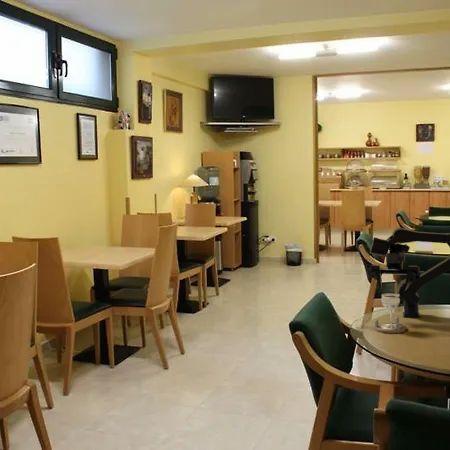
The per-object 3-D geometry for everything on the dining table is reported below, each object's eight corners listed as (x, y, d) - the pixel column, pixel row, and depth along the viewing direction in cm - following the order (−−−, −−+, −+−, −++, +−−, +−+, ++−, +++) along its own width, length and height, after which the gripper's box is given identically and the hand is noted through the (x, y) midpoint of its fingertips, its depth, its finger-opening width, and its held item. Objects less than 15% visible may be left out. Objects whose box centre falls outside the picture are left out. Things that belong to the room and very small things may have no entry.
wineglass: (388, 330, 207) (387, 297, 206) (378, 325, 214) (377, 294, 213) (404, 327, 209) (403, 295, 208) (394, 323, 215) (393, 292, 214)
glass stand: (375, 325, 218) (375, 316, 218) (405, 325, 215) (405, 316, 215) (375, 333, 208) (374, 324, 207) (406, 333, 205) (406, 324, 204)
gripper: (369, 245, 225) (364, 277, 216) (418, 245, 217) (415, 279, 208) (373, 261, 233) (369, 293, 224) (421, 262, 225) (418, 295, 216)
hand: (392, 290), depth 217 cm, fingers open, 9 cm apart
